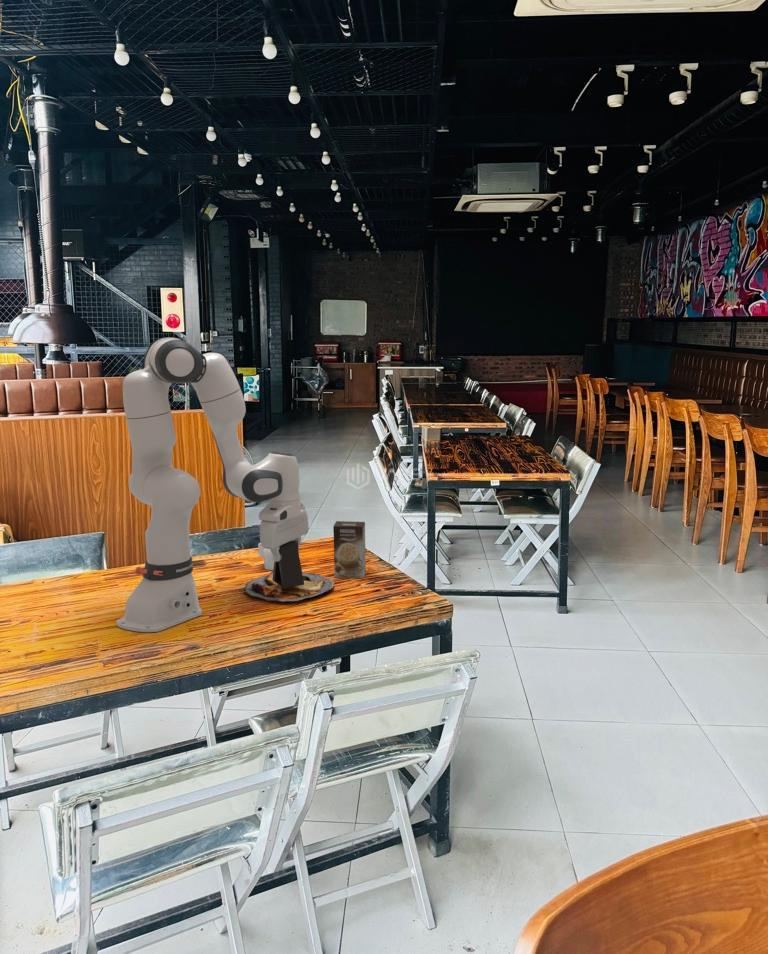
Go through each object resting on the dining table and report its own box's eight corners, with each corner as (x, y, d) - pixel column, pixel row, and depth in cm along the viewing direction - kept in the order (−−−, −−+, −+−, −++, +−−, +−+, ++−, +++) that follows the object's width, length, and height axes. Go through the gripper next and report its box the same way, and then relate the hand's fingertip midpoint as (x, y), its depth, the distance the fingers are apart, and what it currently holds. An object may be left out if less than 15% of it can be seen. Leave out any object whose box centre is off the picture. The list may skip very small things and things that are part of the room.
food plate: (228, 597, 212) (227, 585, 212) (276, 574, 233) (276, 563, 232) (303, 612, 201) (303, 599, 201) (347, 587, 222) (347, 575, 221)
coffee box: (333, 578, 227) (331, 526, 224) (337, 571, 233) (335, 520, 230) (364, 578, 226) (362, 526, 223) (366, 572, 232) (365, 521, 229)
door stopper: (304, 585, 214) (302, 544, 212) (284, 588, 211) (282, 547, 209) (291, 576, 222) (290, 537, 220) (272, 580, 219) (270, 540, 217)
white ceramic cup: (279, 571, 235) (277, 543, 233) (254, 568, 239) (252, 540, 237) (291, 565, 241) (289, 537, 240) (266, 562, 245) (265, 535, 243)
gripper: (294, 500, 223) (296, 546, 226) (254, 515, 205) (257, 564, 207) (313, 502, 221) (314, 548, 223) (274, 517, 202) (276, 567, 205)
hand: (286, 556), depth 215 cm, fingers open, 8 cm apart
